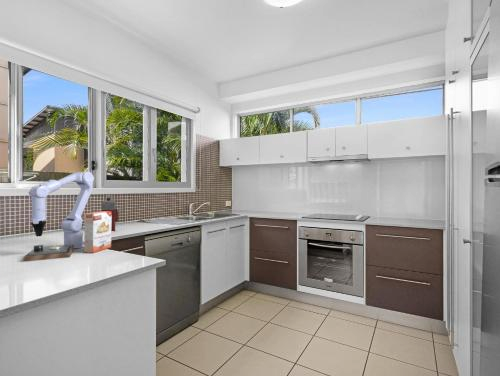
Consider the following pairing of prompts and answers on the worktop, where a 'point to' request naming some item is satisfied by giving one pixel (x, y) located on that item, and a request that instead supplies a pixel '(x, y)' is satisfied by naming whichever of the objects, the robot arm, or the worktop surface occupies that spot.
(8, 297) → the worktop surface
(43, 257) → the base
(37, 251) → the plate
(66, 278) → the worktop surface
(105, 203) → the toy vending machine
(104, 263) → the worktop surface
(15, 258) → the worktop surface
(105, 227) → the cracker box
